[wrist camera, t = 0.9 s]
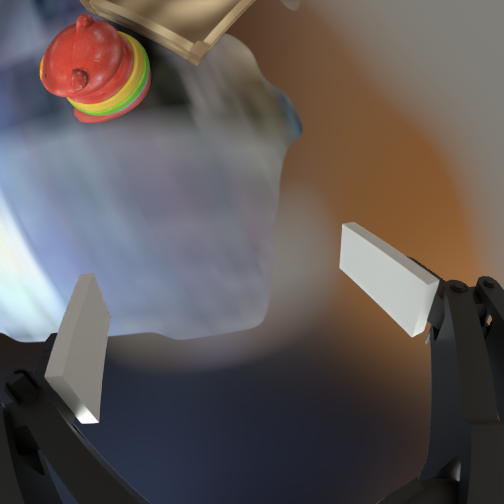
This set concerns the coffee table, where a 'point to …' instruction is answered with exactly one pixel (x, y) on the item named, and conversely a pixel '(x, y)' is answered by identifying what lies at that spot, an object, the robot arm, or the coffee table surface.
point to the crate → (174, 21)
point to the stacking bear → (96, 70)
